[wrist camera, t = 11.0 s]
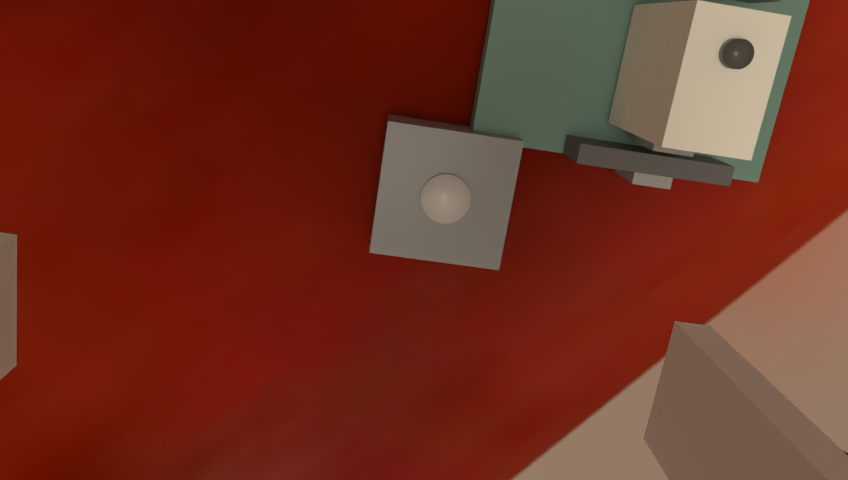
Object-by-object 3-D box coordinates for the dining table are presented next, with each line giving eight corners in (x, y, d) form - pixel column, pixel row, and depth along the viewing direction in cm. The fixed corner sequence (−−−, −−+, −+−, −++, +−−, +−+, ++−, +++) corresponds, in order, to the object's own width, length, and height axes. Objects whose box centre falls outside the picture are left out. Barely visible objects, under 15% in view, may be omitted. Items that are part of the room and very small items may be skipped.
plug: (634, 4, 37) (703, -1, 29) (709, 17, 38) (799, 15, 29) (605, 134, 39) (663, 163, 31) (678, 145, 39) (754, 177, 31)
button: (388, 114, 40) (388, 121, 37) (514, 133, 41) (524, 142, 37) (370, 237, 42) (369, 254, 39) (491, 253, 43) (499, 272, 39)
